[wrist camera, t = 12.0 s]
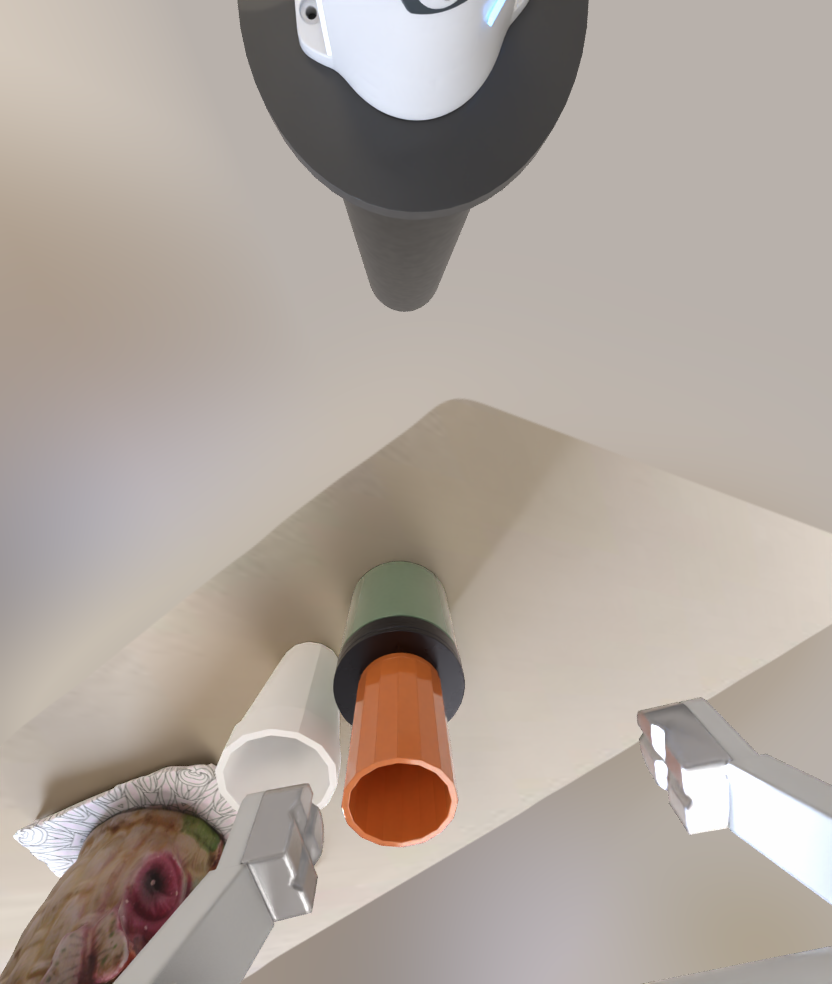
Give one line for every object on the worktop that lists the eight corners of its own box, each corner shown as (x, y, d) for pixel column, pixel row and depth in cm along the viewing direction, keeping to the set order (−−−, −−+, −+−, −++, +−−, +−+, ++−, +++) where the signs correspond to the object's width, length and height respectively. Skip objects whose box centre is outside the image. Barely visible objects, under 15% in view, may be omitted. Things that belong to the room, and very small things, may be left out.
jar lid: (321, 631, 33) (316, 647, 31) (447, 603, 32) (450, 617, 30) (355, 732, 35) (352, 753, 33) (471, 707, 35) (475, 726, 33)
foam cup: (262, 696, 46) (210, 815, 33) (271, 623, 44) (220, 721, 31) (347, 708, 47) (328, 829, 34) (361, 637, 44) (346, 739, 32)
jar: (340, 572, 42) (318, 642, 31) (435, 551, 42) (449, 613, 31) (365, 655, 45) (353, 746, 34) (455, 635, 45) (474, 720, 34)
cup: (348, 662, 31) (328, 772, 22) (431, 644, 31) (444, 747, 22) (369, 730, 33) (359, 856, 24) (449, 713, 33) (467, 834, 24)
